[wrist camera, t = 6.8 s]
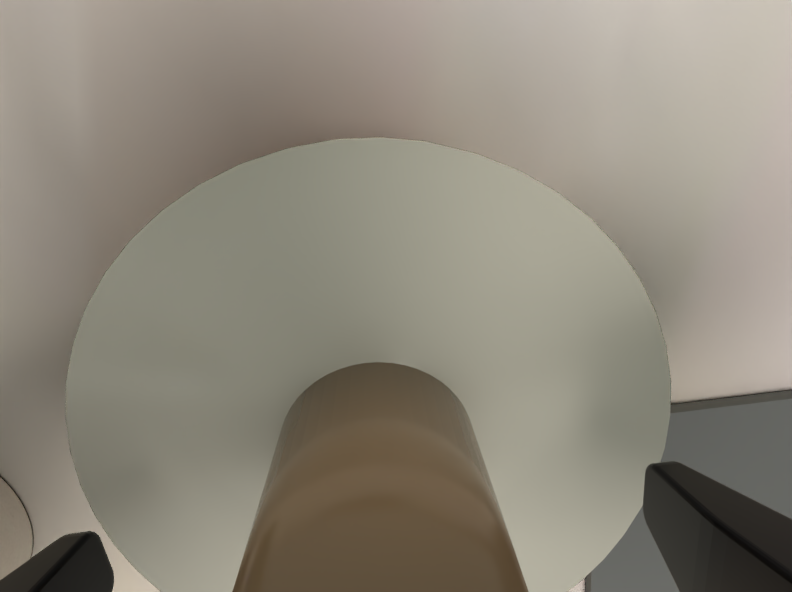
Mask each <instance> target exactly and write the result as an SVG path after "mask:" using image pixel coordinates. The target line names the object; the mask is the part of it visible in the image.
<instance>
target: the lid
mask: <svg viewBox="0 0 792 592" xmlns="http://www.w3.org/2000/svg"><path fill="white" fill-rule="evenodd" d="M670 407H671V378H670V371H669V364H668V356H667V349H666V344H665V341H664V338H663V334H662V331H661V328H660V324H659V321H658V318H657V314H656V312H655V310H654V307H653V305H652V303H651V301H650V299H649V297H648V295H647V293H646V291H645V289H644V287H643V285H642V283H641V280H640V279H639V277H638V276H637V274H636V273H635V271H634V270H633V268H632V267H631V265H630V264H629V263H628V261H627V260H626V258H625V257H624V255H623V254H622V252H621V251H620V250H619V248H618V247H617V246H616V245H615V244H614V243H613V241H612V240H611V239H610V238H609V237H608V236H607V235H606V234H605V233H604V232H603V231H602V230H601V229H600V228H599V227H598V226H597V225H596V224H595V222H594V221H593V220H592V219H591V218H590V217H588V216H587V215H586V214H585V213H583V212H582V211H581V210H580V209H578V208H577V207H576V206H574V205H573V204H572V203H571V202H569V201H568V200H567V199H565V198H564V197H563V196H562V195H560V194H559V193H558V192H556V191H555V190H553V189H551V188H549V187H548V186H546V185H544V184H542V183H541V182H539V181H537V180H535V179H533V178H532V177H530V176H528V175H526V174H525V173H523V172H521V171H519V170H517V169H515V168H512V167H510V166H507V165H505V164H502V163H499V162H497V161H494V160H492V159H489V158H487V157H484V156H481V155H479V154H476V153H473V152H468V151H464V150H460V149H456V148H452V147H447V146H443V145H439V144H435V143H430V142H426V141H417V140H406V139H395V138H385V137H373V138H350V139H335V140H329V141H324V142H318V143H313V144H308V145H302V146H297V147H292V148H287V149H284V150H281V151H278V152H275V153H272V154H269V155H266V156H263V157H260V158H257V159H254V160H251V161H248V162H245V163H242V164H239V165H237V166H235V167H233V168H231V169H229V170H227V171H225V172H223V173H221V174H219V175H217V176H215V177H213V178H211V179H209V180H207V181H205V182H203V183H201V184H199V185H198V186H196V187H195V188H193V189H192V190H191V191H189V192H188V193H186V194H185V195H183V196H182V197H181V198H179V199H178V200H176V201H175V202H173V203H172V204H170V205H169V206H168V207H166V208H165V209H163V210H162V211H161V212H160V213H159V214H158V215H157V216H155V217H154V218H153V219H152V220H151V221H150V222H149V223H148V224H147V225H146V226H145V227H144V228H143V229H142V230H141V231H140V232H139V233H138V234H137V235H135V236H134V237H133V238H132V239H131V240H130V241H129V243H128V244H127V245H126V247H125V248H124V249H123V250H122V252H121V253H120V254H119V256H118V257H117V258H116V259H115V261H114V262H113V263H112V265H111V266H110V267H109V269H108V270H107V271H106V272H105V274H104V276H103V277H102V279H101V281H100V283H99V285H98V287H97V288H96V290H95V292H94V294H93V296H92V298H91V299H90V301H89V303H88V305H87V307H86V309H85V311H84V314H83V317H82V320H81V323H80V325H79V328H78V331H77V334H76V337H75V340H74V343H73V345H72V351H71V357H70V362H69V368H68V374H67V379H66V425H67V431H68V438H69V445H70V452H71V456H72V459H73V462H74V465H75V469H76V472H77V475H78V478H79V482H80V485H81V487H82V489H83V491H84V493H85V496H86V498H87V500H88V502H89V504H90V506H91V508H92V510H93V512H94V514H95V516H96V518H97V519H98V521H99V523H100V524H101V526H102V527H103V529H104V530H105V532H106V533H107V535H108V536H109V538H110V539H111V541H112V542H113V544H114V545H115V546H116V547H117V548H118V550H119V551H120V552H121V553H122V554H123V555H124V556H125V558H126V559H127V560H128V561H129V562H130V563H131V565H132V566H133V567H134V568H135V569H136V570H137V571H138V572H139V573H140V574H141V575H143V576H144V577H145V578H146V579H147V580H148V581H149V582H150V583H151V584H153V585H154V586H155V587H156V588H157V589H158V590H159V591H160V592H568V591H569V590H570V589H572V588H573V587H574V586H576V585H577V584H578V583H579V582H581V581H582V580H583V579H584V578H585V577H586V576H587V575H588V574H589V573H590V572H591V571H592V570H593V569H594V568H595V567H596V566H597V565H598V564H599V563H600V562H601V561H603V560H604V559H605V557H606V556H607V555H608V554H609V552H610V551H611V550H612V549H613V548H614V546H615V545H616V544H617V543H618V541H619V540H620V539H621V538H622V537H623V535H624V534H625V533H626V531H627V529H628V528H629V526H630V525H631V523H632V522H633V520H634V518H635V517H636V515H637V514H638V512H639V511H640V509H641V507H642V505H643V494H644V480H645V471H646V468H647V466H648V465H650V464H652V463H659V462H661V458H662V455H663V452H664V449H665V444H666V438H667V432H668V426H669V420H670Z"/></svg>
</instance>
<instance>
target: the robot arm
mask: <svg viewBox="0 0 792 592" xmlns="http://www.w3.org/2000/svg"><path fill="white" fill-rule="evenodd" d="M643 514H644V518H645V521H646V524H647V526H648V528H649V530H650V532H651V534H652V537H653V539H654V541H655V543H656V545H657V547H658V549H659V551H660V553H661V555H662V557H663V559H664V561H665V563H666V565H667V567H668V569H669V571H670V574H671V576H672V578H673V580H674V582H675V584H676V586H677V588H678V590H679V592H792V519H791V518H789V517H787V516H785V515H783V514H781V513H779V512H777V511H775V510H773V509H771V508H769V507H767V506H765V505H763V504H761V503H759V502H757V501H755V500H753V499H751V498H749V497H747V496H745V495H743V494H741V493H739V492H737V491H735V490H733V489H731V488H729V487H728V486H726V485H724V484H722V483H720V482H718V481H716V480H714V479H712V478H710V477H708V476H706V475H704V474H702V473H700V472H698V471H696V470H694V469H692V468H690V467H688V466H686V465H684V464H682V463H679V462H677V461H667V462H659V463H652V464H650V465H648V466H647V468H646V471H645V480H644V494H643ZM113 584H114V574H113V570H112V567H111V564H110V562H109V559H108V557H107V554H106V552H105V549H104V547H103V544H102V542H101V539H100V537H99V535H97V534H96V533H95V532H91V531H88V532H80V533H72V534H67V535H64V536H62V537H60V538H59V539H58V540H56V541H55V542H53V543H52V544H50V545H49V546H48V547H46V548H45V549H43V550H42V551H41V552H39V553H38V554H36V555H35V556H34V557H32V558H31V559H29V560H28V561H26V562H25V563H24V564H22V565H21V566H19V567H18V568H17V569H15V570H14V571H12V572H11V573H10V574H8V575H7V576H5V577H4V578H3V579H1V580H0V592H112V589H113Z"/></svg>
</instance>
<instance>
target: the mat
mask: <svg viewBox="0 0 792 592" xmlns="http://www.w3.org/2000/svg"><path fill="white" fill-rule="evenodd" d="M667 461H677V462H679V463H682V464H684V465H686V466H688V467H690V468H692V469H694V470H696V471H698V472H700V473H702V474H704V475H706V476H708V477H710V478H712V479H714V480H716V481H718V482H720V483H722V484H724V485H726V486H728V487H729V488H731V489H733V490H735V491H737V492H739V493H741V494H743V495H745V496H747V497H749V498H751V499H753V500H755V501H757V502H759V503H761V504H763V505H765V506H767V507H769V508H771V509H773V510H775V511H777V512H779V513H781V514H783V515H785V516H787V517H789V518H791V519H792V390H789V391H781V392H772V393H764V394H756V395H748V396H739V397H731V398H723V399H715V400H706V401H698V402H690V403H682V404H673V405H671V407H670V420H669V426H668V432H667V438H666V444H665V449H664V452H663V455H662V458H661V462H667ZM585 592H679V590H678V588H677V586H676V584H675V582H674V580H673V578H672V576H671V574H670V571H669V569H668V567H667V565H666V563H665V561H664V559H663V557H662V555H661V553H660V551H659V549H658V547H657V545H656V543H655V541H654V539H653V537H652V534H651V532H650V530H649V528H648V526H647V524H646V521H645V518H644V514H643V505H642V507H641V509H640V511H639V512H638V514H637V515H636V517H635V518H634V520H633V522H632V523H631V525H630V526H629V528H628V529H627V531H626V533H625V534H624V535H623V537H622V538H621V539H620V540H619V541H618V543H617V544H616V545H615V546H614V548H613V549H612V550H611V551H610V552H609V554H608V555H607V556H606V557H605V559H604V560H603V561H601V562H600V563H599V564H598V565H597V566H596V567H595V568H594V569H593V570H592V571H591V572H590V573H589V574H588V575H587V576H586V590H585Z"/></svg>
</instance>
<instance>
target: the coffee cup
mask: <svg viewBox="0 0 792 592" xmlns="http://www.w3.org/2000/svg"><path fill="white" fill-rule="evenodd" d="M32 547H33V536H32V529H31V525H30V521H29V518H28V516H27V513H26V511H25V509H24V507H23V505H22V503H21V502H20V500H19V498H18V497H17V496H16V494H15V493H14V492H13V490H12V489H11V488H10V487H9V486H8V484H7V483H6V482H5V481H4V480H3V479H2V478H1V477H0V580H1V579H3V578H4V577H5V576H7V575H8V574H10V573H11V572H12V571H14V570H15V569H17V568H18V567H19V566H21V565H22V564H24V563H25V562H26V561H28V560H29V559H30V558H31V554H32Z"/></svg>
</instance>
